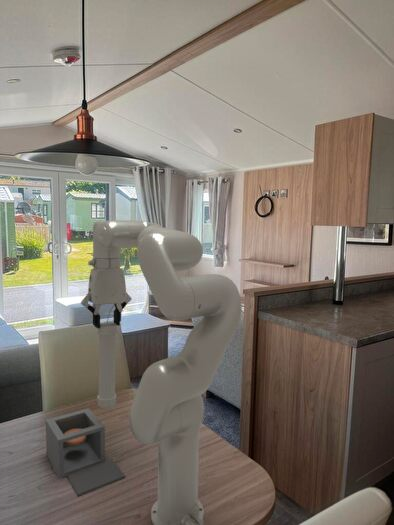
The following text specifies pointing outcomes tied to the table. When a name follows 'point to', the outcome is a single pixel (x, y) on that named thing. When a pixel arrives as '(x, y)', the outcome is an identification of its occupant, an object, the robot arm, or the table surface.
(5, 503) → the table surface
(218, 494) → the table surface
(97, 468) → the mat
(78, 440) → the button
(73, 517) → the table surface
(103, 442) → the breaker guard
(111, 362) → the grey cylindrical piece
